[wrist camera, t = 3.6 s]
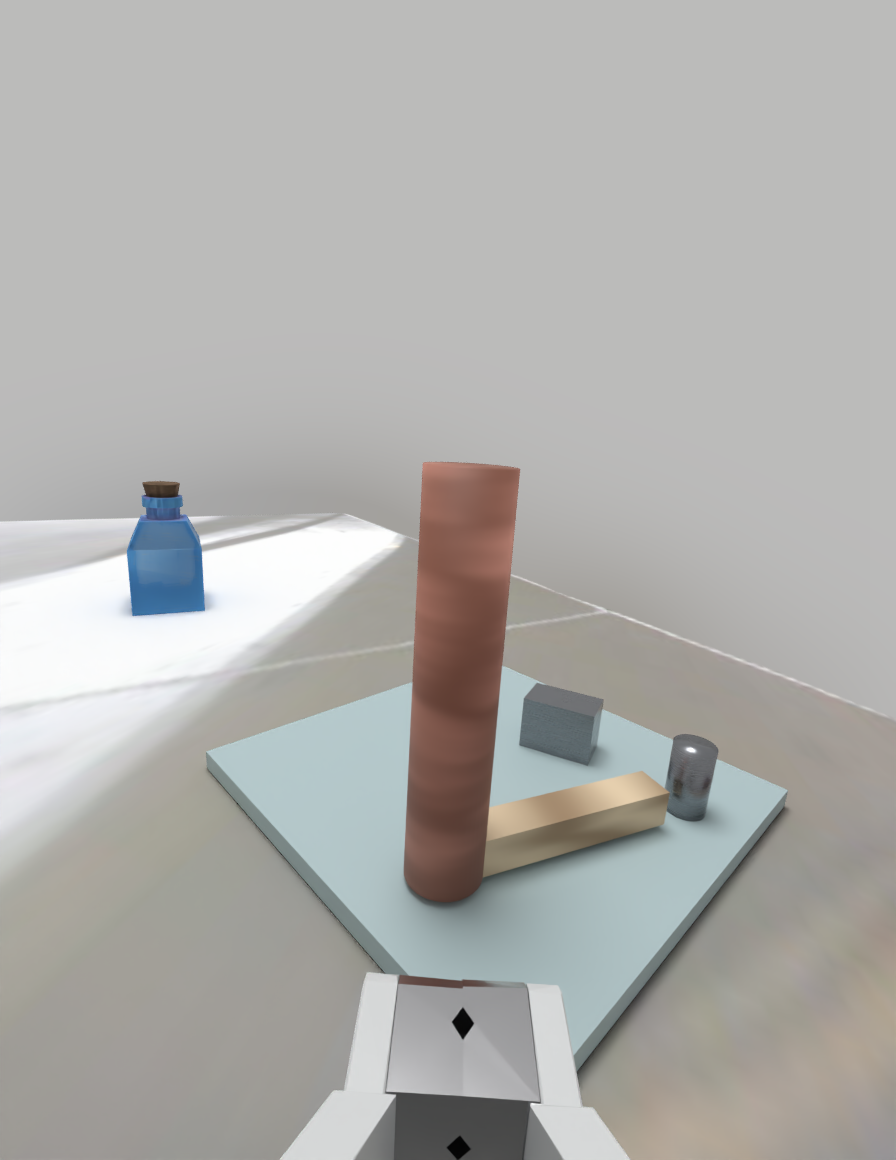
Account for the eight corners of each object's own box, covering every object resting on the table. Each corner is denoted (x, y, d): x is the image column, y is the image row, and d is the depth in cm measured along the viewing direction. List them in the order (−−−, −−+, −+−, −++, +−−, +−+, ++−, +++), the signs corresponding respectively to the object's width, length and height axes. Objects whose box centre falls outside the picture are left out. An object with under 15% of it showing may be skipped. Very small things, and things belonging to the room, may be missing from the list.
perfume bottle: (132, 616, 53) (121, 486, 50) (136, 597, 58) (126, 479, 55) (204, 610, 55) (198, 487, 52) (201, 593, 61) (195, 480, 58)
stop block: (518, 745, 33) (523, 698, 32) (532, 727, 35) (536, 682, 34) (587, 766, 31) (594, 716, 30) (596, 745, 33) (603, 699, 32)
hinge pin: (651, 823, 28) (666, 743, 27) (670, 807, 30) (684, 730, 28) (690, 845, 27) (707, 761, 26) (708, 827, 28) (724, 746, 27)
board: (206, 767, 30) (206, 751, 30) (483, 669, 45) (484, 657, 45) (526, 1136, 15) (529, 1109, 15) (783, 806, 30) (788, 790, 30)
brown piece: (627, 792, 28) (679, 470, 24) (675, 834, 26) (743, 478, 22) (392, 852, 23) (409, 460, 19) (420, 912, 21) (446, 468, 17)
